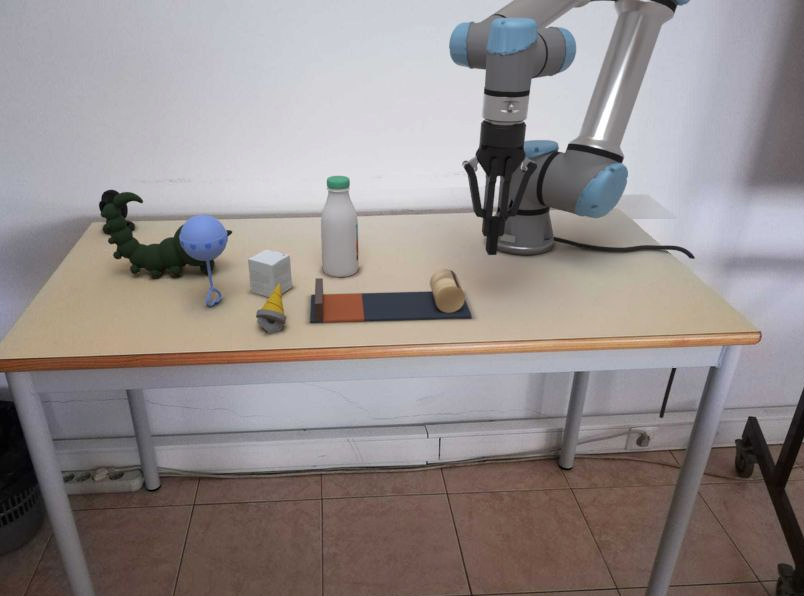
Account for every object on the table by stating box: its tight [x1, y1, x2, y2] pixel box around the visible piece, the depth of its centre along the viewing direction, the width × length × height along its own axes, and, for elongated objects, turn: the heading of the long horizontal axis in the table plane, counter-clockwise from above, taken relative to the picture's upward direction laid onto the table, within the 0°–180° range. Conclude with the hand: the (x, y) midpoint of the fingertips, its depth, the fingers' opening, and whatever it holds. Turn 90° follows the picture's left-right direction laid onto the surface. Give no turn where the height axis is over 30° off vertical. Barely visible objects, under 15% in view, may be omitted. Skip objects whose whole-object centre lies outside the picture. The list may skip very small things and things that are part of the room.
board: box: [309, 277, 473, 324], centre depth 130 cm, size 30×11×4 cm, turn 93°
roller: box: [429, 268, 466, 313], centre depth 130 cm, size 6×8×6 cm
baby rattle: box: [179, 214, 229, 308], centre depth 127 cm, size 9×9×18 cm
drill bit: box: [255, 283, 287, 335], centre depth 123 cm, size 5×5×10 cm
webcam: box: [98, 189, 136, 236], centre depth 165 cm, size 8×8×10 cm
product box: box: [247, 249, 293, 298], centre depth 136 cm, size 6×6×7 cm
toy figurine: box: [100, 191, 233, 279], centre depth 141 cm, size 9×19×25 cm
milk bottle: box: [320, 175, 360, 278], centre depth 141 cm, size 8×8×20 cm
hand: (490, 252), depth 126 cm, fingers closed
